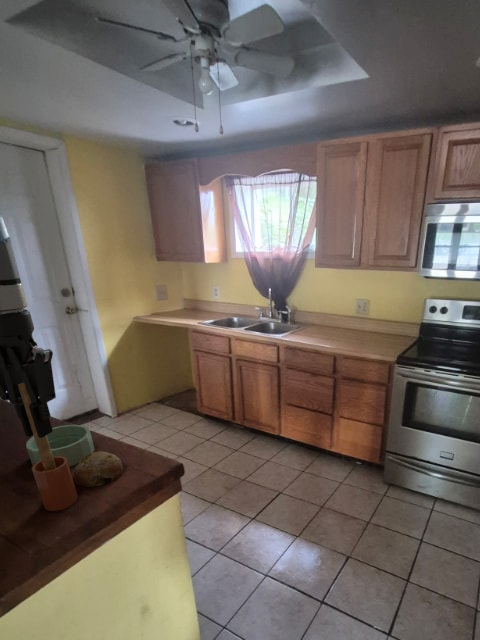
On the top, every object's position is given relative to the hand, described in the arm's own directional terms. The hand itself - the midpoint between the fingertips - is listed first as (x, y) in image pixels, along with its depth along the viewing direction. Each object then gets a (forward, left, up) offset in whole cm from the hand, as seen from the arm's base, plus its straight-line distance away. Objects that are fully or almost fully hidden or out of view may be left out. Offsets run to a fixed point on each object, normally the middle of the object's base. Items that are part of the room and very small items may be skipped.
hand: (39, 433), depth 72 cm
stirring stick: (0, 0, -12) cm, 12 cm away
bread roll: (+1, +10, -17) cm, 20 cm away
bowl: (-13, +16, -17) cm, 27 cm away
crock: (0, 0, -17) cm, 17 cm away
